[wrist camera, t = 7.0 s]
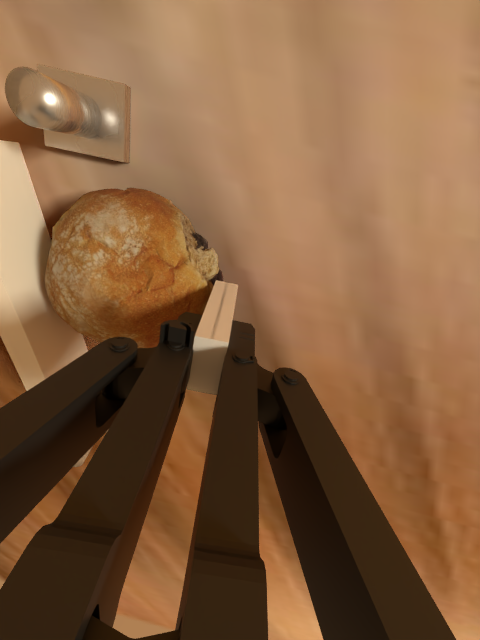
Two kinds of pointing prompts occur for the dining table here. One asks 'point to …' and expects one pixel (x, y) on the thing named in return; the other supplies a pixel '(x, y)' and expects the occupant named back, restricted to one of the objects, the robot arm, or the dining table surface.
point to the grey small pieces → (73, 113)
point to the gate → (28, 279)
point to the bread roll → (127, 266)
